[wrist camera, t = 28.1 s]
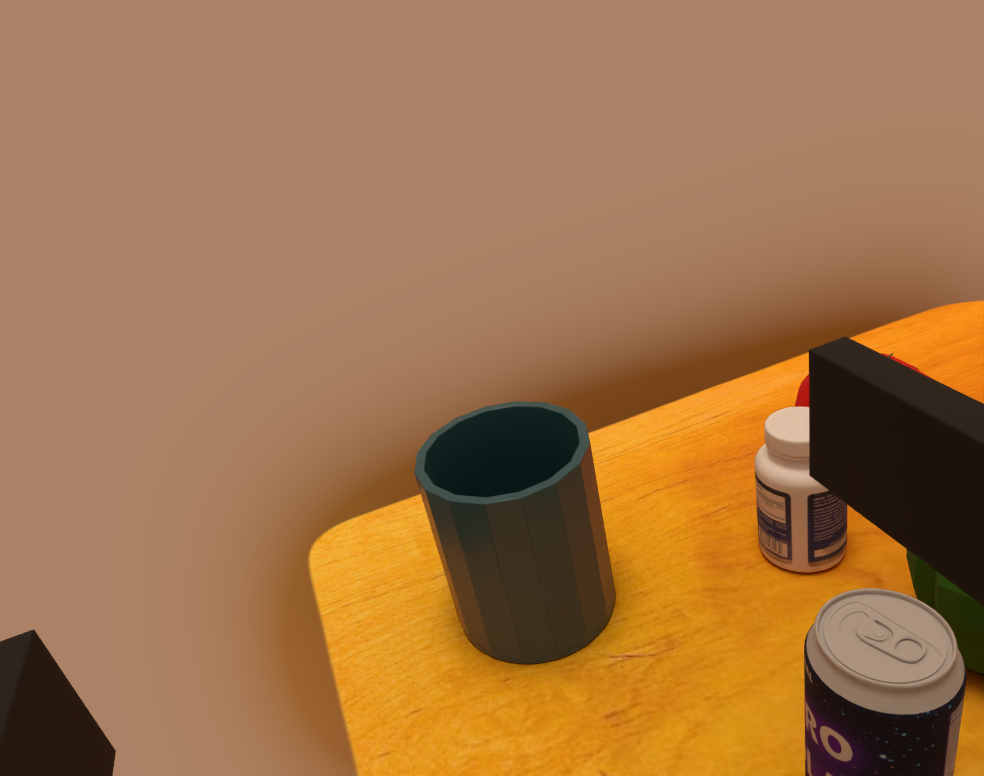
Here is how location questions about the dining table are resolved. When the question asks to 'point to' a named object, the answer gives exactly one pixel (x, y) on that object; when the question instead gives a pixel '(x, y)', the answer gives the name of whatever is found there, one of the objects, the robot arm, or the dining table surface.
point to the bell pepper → (952, 610)
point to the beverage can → (881, 688)
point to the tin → (519, 529)
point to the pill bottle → (795, 499)
